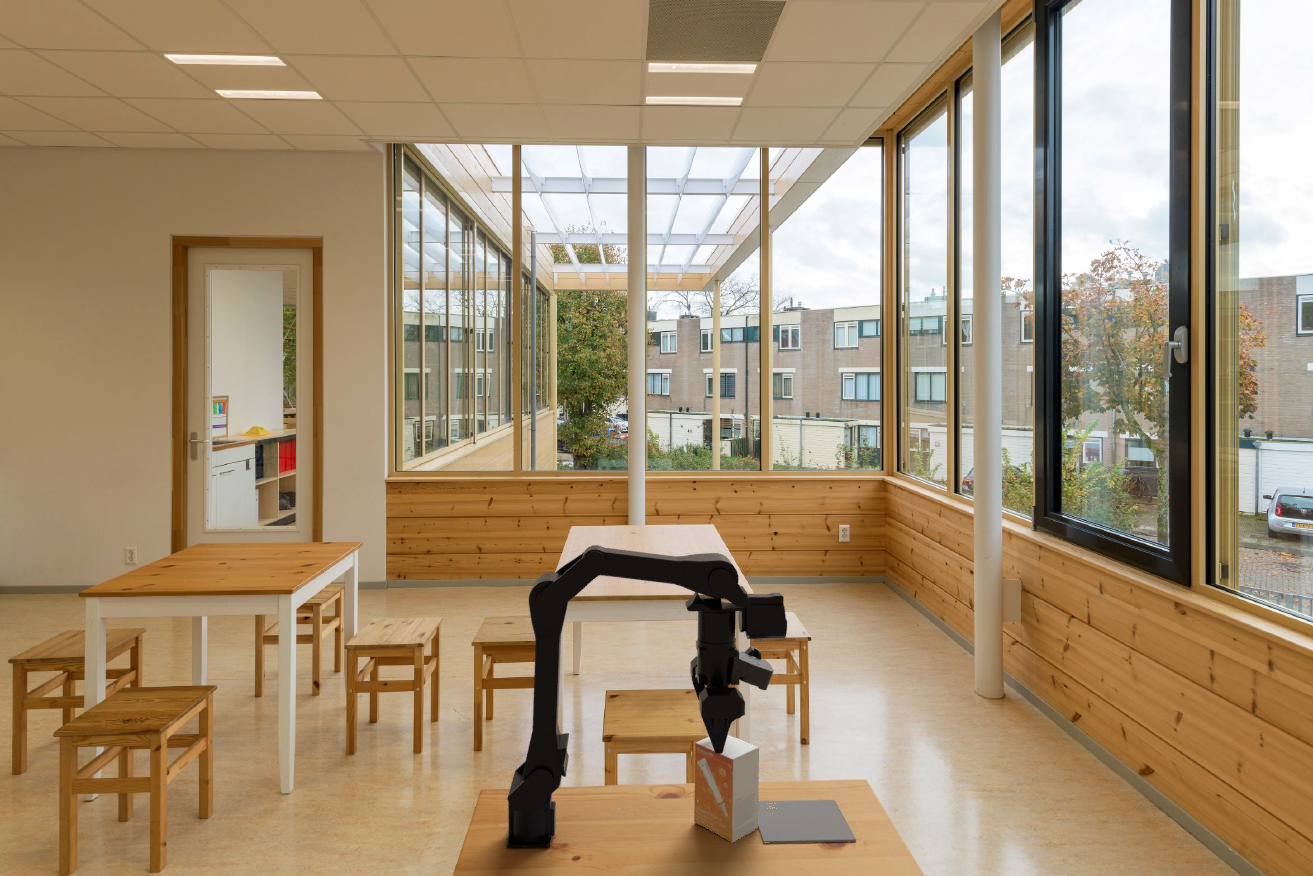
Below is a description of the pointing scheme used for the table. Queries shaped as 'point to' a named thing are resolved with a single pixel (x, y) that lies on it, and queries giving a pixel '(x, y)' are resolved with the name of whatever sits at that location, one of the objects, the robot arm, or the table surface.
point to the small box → (727, 788)
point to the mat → (803, 822)
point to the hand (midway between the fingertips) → (715, 740)
